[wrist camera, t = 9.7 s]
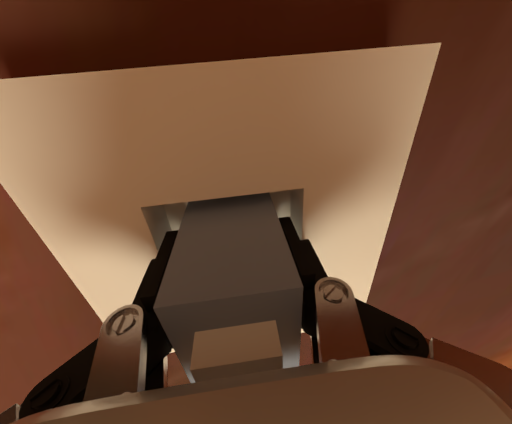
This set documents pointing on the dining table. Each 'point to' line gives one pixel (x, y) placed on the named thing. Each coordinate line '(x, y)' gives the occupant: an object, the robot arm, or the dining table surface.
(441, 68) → the dining table surface
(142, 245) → the socket plate
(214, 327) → the plug
